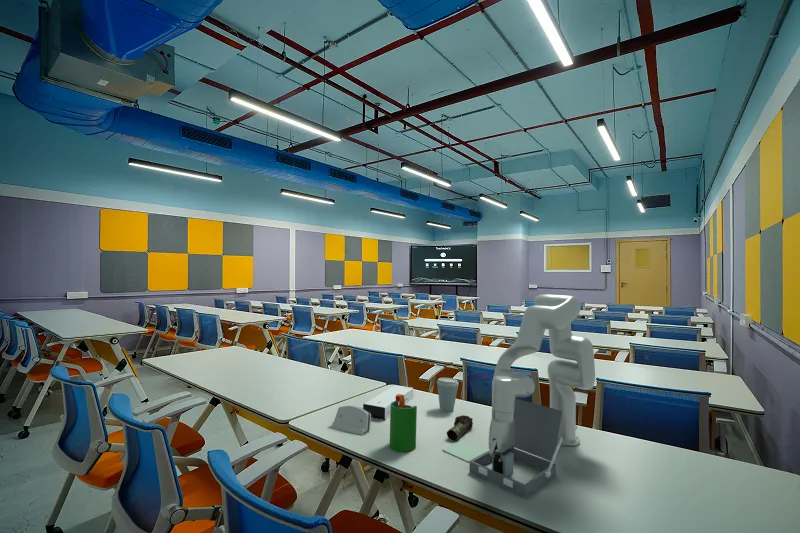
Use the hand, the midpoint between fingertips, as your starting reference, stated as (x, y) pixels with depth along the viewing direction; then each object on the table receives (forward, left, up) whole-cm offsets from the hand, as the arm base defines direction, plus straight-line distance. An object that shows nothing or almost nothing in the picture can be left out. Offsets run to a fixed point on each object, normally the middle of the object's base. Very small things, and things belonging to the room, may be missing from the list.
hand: (502, 468), depth 124 cm
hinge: (+17, -61, -1) cm, 64 cm away
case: (-2, +4, -1) cm, 4 cm away
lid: (-14, +3, +11) cm, 18 cm away
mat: (-2, -17, -1) cm, 17 cm away
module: (0, 0, -1) cm, 1 cm away
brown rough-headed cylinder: (-14, -29, -1) cm, 32 cm away
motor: (+13, -35, -1) cm, 37 cm away
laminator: (-12, -71, -1) cm, 72 cm away
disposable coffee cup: (-31, -49, -1) cm, 58 cm away
